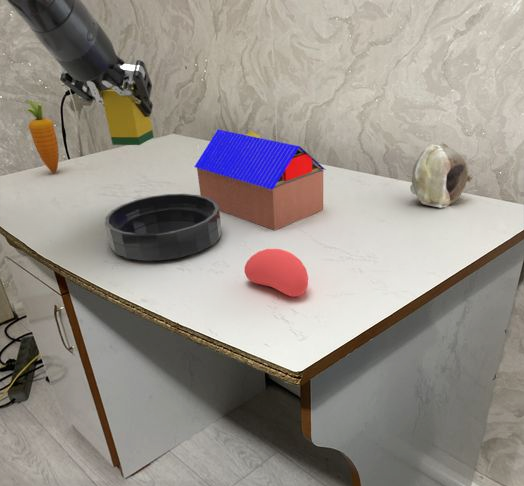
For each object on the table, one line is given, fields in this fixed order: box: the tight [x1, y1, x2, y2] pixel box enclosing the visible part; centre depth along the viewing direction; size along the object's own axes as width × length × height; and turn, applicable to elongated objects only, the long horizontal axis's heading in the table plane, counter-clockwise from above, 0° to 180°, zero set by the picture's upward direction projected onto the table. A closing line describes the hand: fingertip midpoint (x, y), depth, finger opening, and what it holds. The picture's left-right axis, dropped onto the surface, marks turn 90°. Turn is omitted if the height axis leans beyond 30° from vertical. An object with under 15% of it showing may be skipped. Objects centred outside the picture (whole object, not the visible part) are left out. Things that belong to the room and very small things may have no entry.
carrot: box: [26, 99, 60, 173], centre depth 116 cm, size 5×5×15 cm
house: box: [194, 129, 326, 231], centre depth 91 cm, size 12×20×12 cm, turn 42°
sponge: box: [102, 85, 154, 146], centre depth 86 cm, size 5×5×8 cm
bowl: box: [104, 193, 223, 262], centre depth 83 cm, size 17×17×4 cm
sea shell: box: [410, 142, 474, 209], centre depth 88 cm, size 9×8×10 cm
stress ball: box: [244, 248, 309, 298], centre depth 68 cm, size 5×9×6 cm, turn 36°
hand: (133, 111), depth 87 cm, fingers closed on sponge, 5 cm apart
